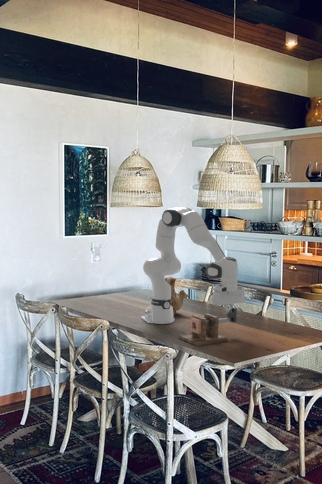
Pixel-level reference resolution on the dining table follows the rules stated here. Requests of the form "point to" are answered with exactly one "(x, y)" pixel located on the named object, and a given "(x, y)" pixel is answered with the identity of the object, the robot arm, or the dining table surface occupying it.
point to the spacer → (198, 325)
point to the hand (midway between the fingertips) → (228, 312)
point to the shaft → (230, 318)
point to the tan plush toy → (176, 295)
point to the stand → (205, 332)
